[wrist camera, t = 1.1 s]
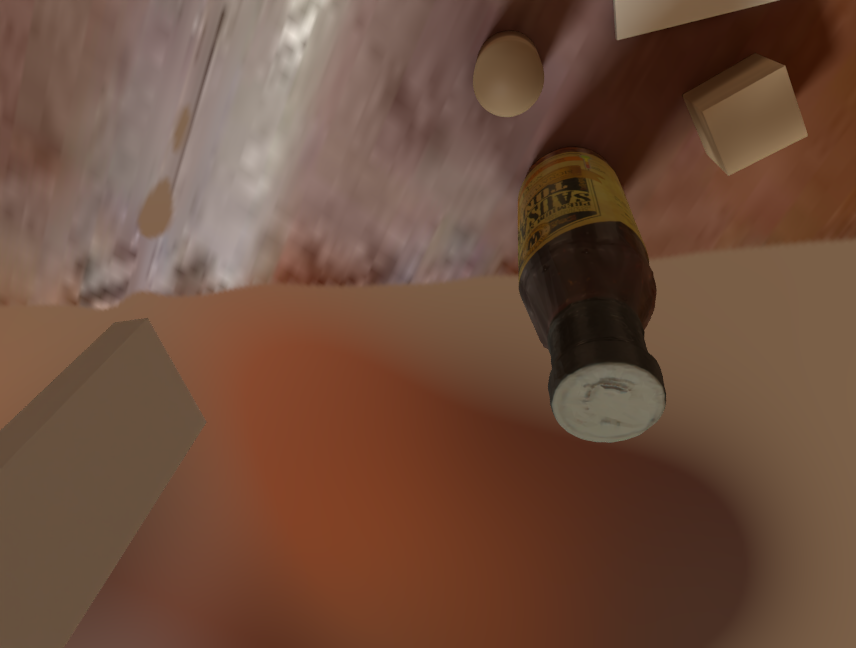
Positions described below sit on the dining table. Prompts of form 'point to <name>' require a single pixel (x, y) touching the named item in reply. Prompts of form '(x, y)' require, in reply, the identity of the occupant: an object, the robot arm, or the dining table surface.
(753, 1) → the tile
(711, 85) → the beech block
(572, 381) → the sauce bottle
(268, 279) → the dining table surface
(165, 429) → the robot arm
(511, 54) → the cork
